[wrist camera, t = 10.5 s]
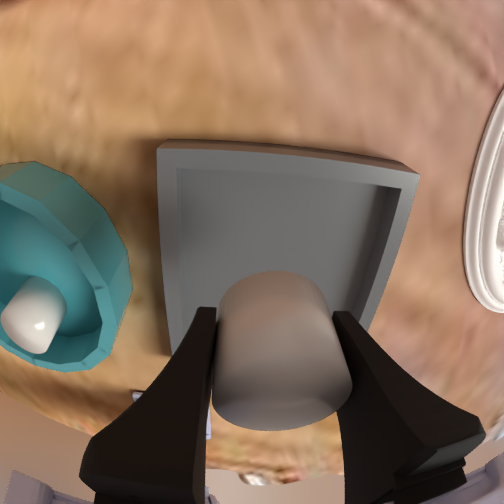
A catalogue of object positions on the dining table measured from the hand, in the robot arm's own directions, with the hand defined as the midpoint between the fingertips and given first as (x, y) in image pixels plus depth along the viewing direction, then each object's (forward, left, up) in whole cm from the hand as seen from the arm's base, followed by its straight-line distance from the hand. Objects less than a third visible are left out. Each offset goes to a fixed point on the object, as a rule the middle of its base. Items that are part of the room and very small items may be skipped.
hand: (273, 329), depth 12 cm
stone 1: (-7, +17, -8) cm, 20 cm away
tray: (-4, -1, -9) cm, 10 cm away
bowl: (-4, +17, -9) cm, 19 cm away
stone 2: (0, 0, -1) cm, 1 cm away
